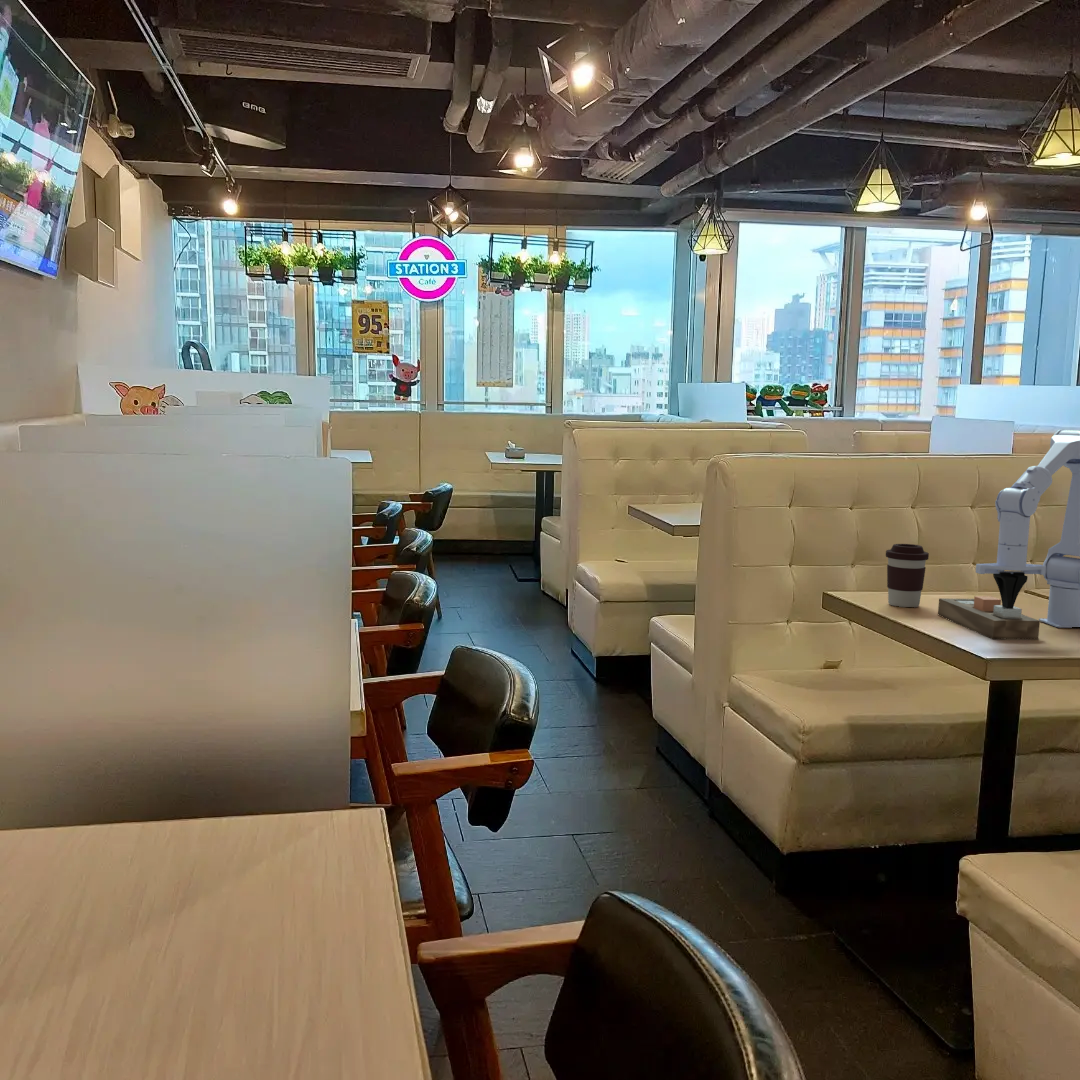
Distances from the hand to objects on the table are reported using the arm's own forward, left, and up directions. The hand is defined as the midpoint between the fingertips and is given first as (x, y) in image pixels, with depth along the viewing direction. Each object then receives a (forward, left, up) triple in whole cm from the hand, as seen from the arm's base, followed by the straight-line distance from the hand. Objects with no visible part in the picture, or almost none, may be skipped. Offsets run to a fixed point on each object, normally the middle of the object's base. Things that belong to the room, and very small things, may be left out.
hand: (1007, 607), depth 215 cm
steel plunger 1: (0, -17, -5) cm, 18 cm away
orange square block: (0, -9, -3) cm, 9 cm away
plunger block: (0, -9, -6) cm, 10 cm away
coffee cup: (+8, -33, -6) cm, 35 cm away
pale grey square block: (0, 0, -3) cm, 3 cm away
